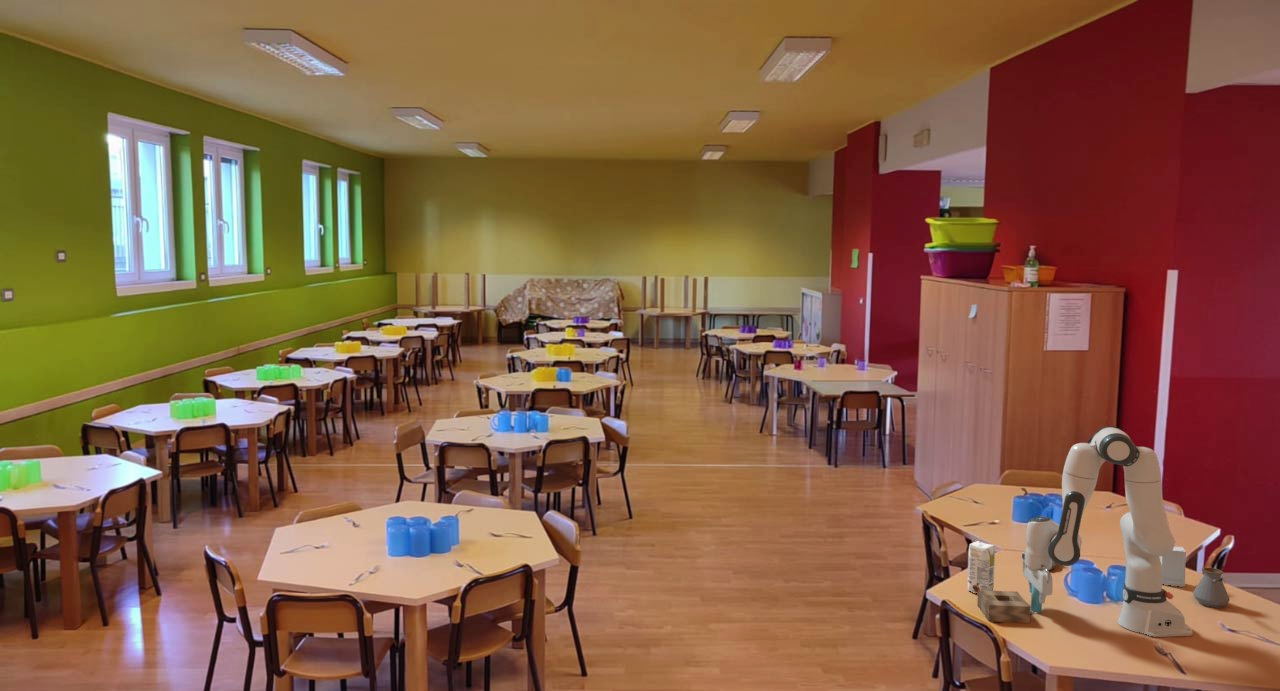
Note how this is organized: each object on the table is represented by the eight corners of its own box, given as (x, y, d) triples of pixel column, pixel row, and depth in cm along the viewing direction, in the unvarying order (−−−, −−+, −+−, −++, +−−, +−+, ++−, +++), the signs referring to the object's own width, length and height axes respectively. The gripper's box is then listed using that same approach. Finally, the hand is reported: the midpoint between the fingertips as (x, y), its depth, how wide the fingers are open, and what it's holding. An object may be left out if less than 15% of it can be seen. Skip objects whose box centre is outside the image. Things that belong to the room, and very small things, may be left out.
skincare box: (1182, 583, 342) (1184, 546, 340) (1185, 588, 336) (1187, 551, 335) (1157, 580, 345) (1160, 544, 344) (1160, 585, 340) (1162, 548, 338)
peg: (1039, 609, 316) (1040, 577, 315) (1043, 613, 312) (1044, 581, 311) (1029, 609, 316) (1030, 577, 315) (1032, 612, 313) (1034, 581, 312)
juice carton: (985, 597, 327) (987, 549, 325) (964, 591, 334) (966, 543, 332) (995, 592, 332) (997, 545, 330) (974, 586, 338) (976, 539, 337)
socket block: (1016, 607, 318) (1017, 591, 317) (1029, 622, 304) (1030, 606, 303) (977, 605, 319) (977, 590, 319) (988, 621, 305) (989, 605, 305)
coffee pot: (1189, 595, 329) (1192, 557, 327) (1225, 600, 324) (1228, 562, 323) (1200, 616, 309) (1203, 576, 308) (1238, 622, 305) (1241, 581, 303)
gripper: (1058, 571, 302) (1056, 609, 303) (1037, 552, 322) (1035, 587, 323) (1039, 570, 302) (1038, 608, 304) (1020, 551, 323) (1018, 587, 324)
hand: (1036, 597), depth 314 cm, fingers open, 8 cm apart
